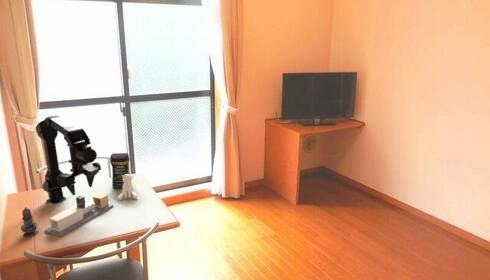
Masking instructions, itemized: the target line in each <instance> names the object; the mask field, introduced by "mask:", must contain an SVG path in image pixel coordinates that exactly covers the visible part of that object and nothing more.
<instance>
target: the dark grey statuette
mask: <svg viewBox="0 0 490 280" xmlns="http://www.w3.org/2000/svg"><path fill="white" fill-rule="evenodd" d="M31 211H32V210H31V209H30V208H27V206H26V207H24V209H22V212H21V213H22V214H21V215H22V218H21V219H22V221H23V224H22V225H21V226H20V229H21V230H22V232H23V234H22V236H23V238H31V237H35V236H36V235H38V233H39V231H38V230H37V228H38V223H37V222H36V221H35V222H34V221H33V217H34V216H33V215H32V212H31Z"/></svg>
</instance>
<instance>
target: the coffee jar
mask: <svg viewBox="0 0 490 280" xmlns="http://www.w3.org/2000/svg"><path fill="white" fill-rule="evenodd" d="M109 157H110V159H109V160H110V161H109V163H110V165H111V169H112V178H111V179H112V183H111V184H112V187H113V188H114V189H123V184H124V182H123V180H122V179H123V176H122V175H125V174H130V175H131V172H130V164H129V163H130V160H131V159H130V155H129V153H128V152H121V153H120V152H119V153H118V152H116V153H115V152H113V153H111V155H110V156H109Z"/></svg>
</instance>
